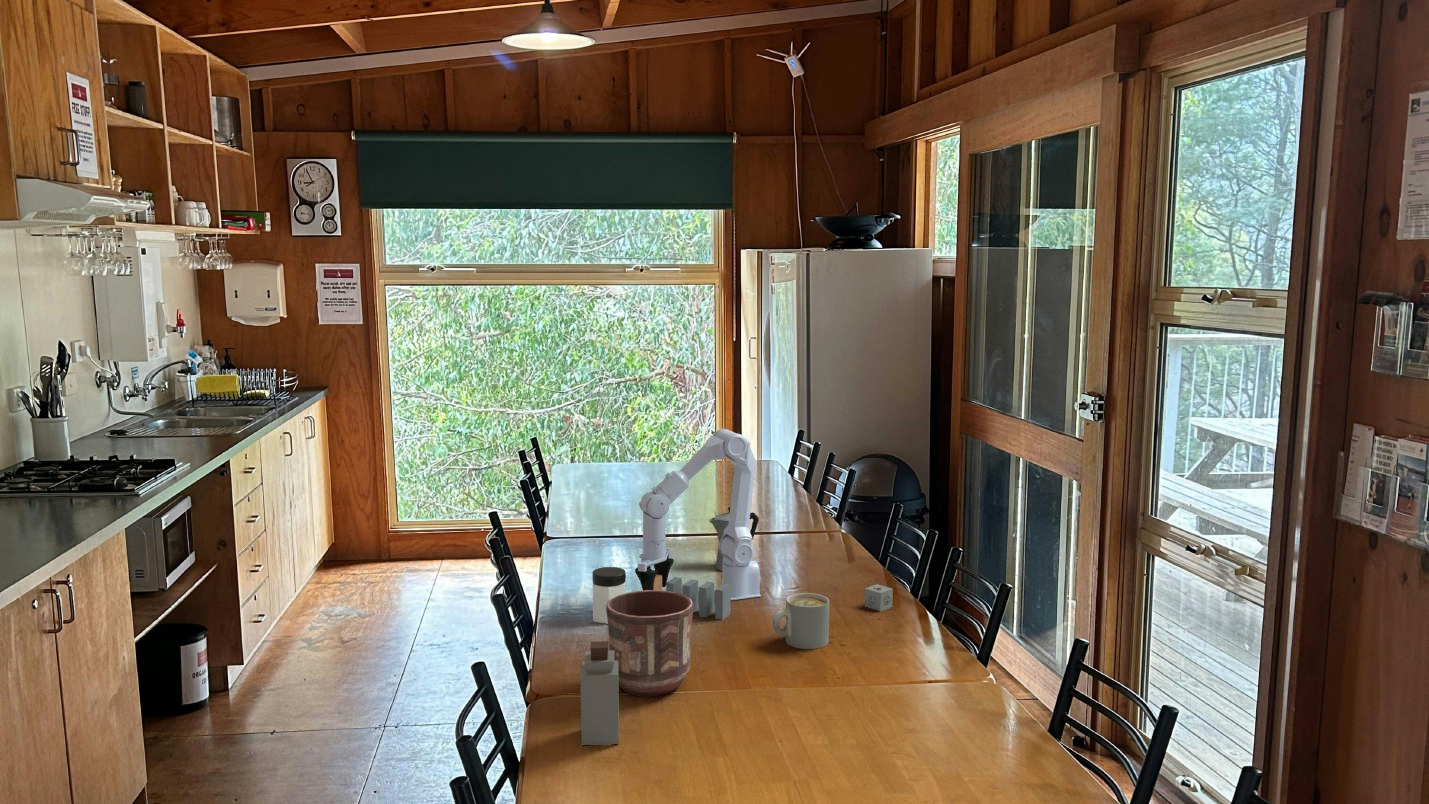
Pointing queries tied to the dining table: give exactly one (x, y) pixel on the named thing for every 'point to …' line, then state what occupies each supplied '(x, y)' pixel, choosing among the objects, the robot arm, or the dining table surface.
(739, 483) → the robot arm
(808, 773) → the dining table surface
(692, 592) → the domino
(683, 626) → the pottery
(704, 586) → the domino
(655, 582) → the domino
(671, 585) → the domino
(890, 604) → the white cube
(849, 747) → the dining table surface
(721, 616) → the domino
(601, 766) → the dining table surface
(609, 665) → the perfume bottle
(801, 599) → the coffee mug
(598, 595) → the jar
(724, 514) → the coffeepot
